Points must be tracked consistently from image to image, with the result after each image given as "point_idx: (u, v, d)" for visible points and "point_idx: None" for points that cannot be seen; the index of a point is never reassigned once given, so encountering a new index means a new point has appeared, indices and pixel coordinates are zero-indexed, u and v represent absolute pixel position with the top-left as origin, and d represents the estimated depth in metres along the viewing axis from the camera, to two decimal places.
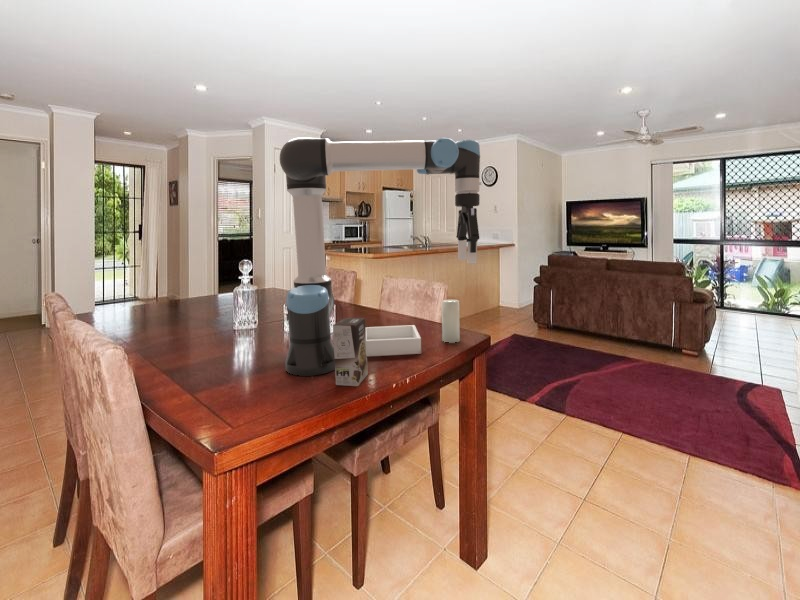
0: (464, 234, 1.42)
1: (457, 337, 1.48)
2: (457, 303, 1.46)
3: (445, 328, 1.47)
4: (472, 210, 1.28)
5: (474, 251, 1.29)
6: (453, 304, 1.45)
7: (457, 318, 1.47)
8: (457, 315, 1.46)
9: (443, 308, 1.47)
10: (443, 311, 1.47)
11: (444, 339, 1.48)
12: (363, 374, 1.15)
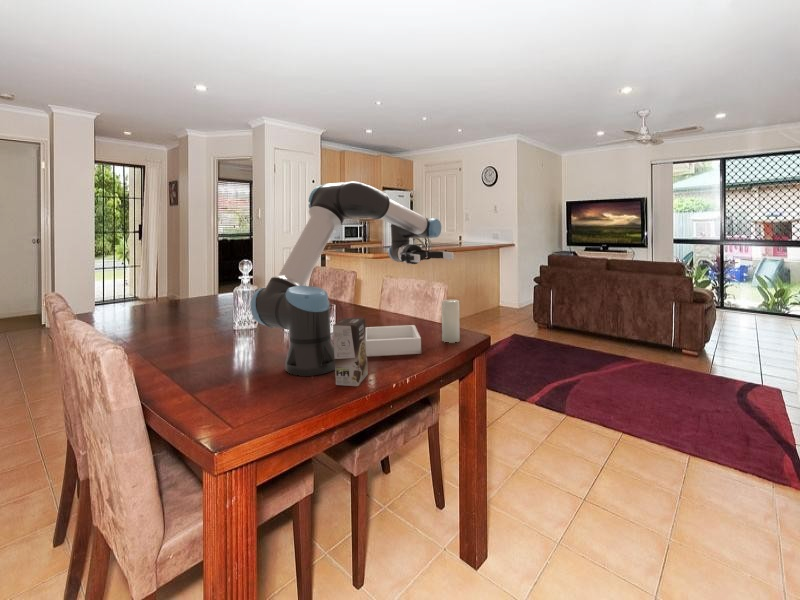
0: None
1: (457, 337, 1.48)
2: (457, 303, 1.46)
3: (445, 328, 1.47)
4: None
5: None
6: (453, 304, 1.45)
7: (457, 318, 1.47)
8: (457, 315, 1.46)
9: (443, 308, 1.47)
10: (443, 311, 1.47)
11: (444, 339, 1.48)
12: (363, 374, 1.15)
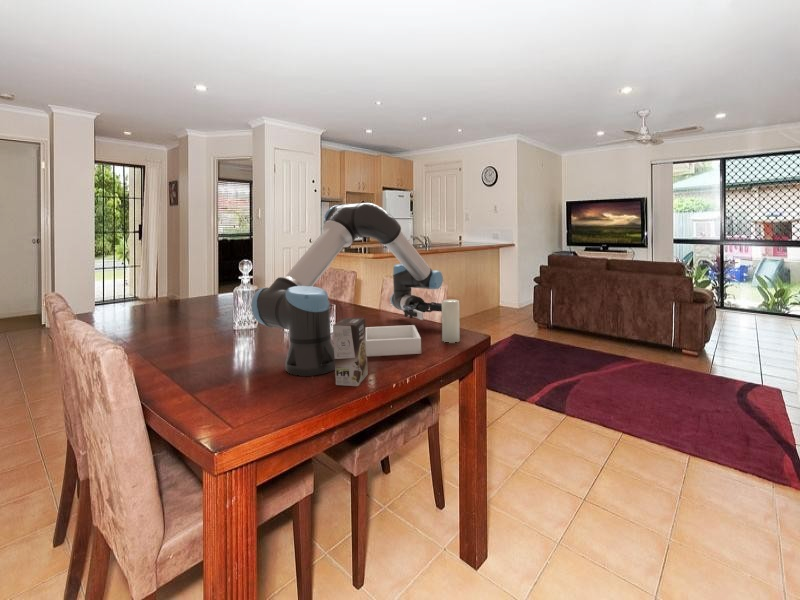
0: None
1: (457, 337, 1.48)
2: (457, 303, 1.46)
3: (445, 328, 1.47)
4: None
5: None
6: (453, 304, 1.45)
7: (457, 318, 1.47)
8: (457, 315, 1.46)
9: (443, 308, 1.47)
10: (443, 311, 1.47)
11: (444, 339, 1.48)
12: (363, 374, 1.15)
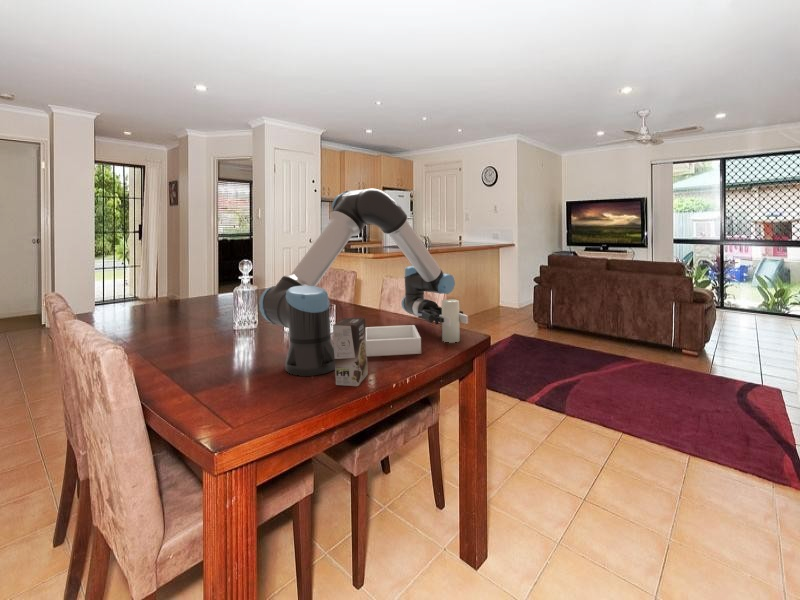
0: None
1: (457, 337, 1.48)
2: (457, 303, 1.46)
3: (445, 328, 1.47)
4: None
5: None
6: (453, 304, 1.45)
7: (457, 318, 1.47)
8: (457, 315, 1.46)
9: (443, 308, 1.47)
10: (443, 311, 1.47)
11: (444, 339, 1.48)
12: (363, 374, 1.15)
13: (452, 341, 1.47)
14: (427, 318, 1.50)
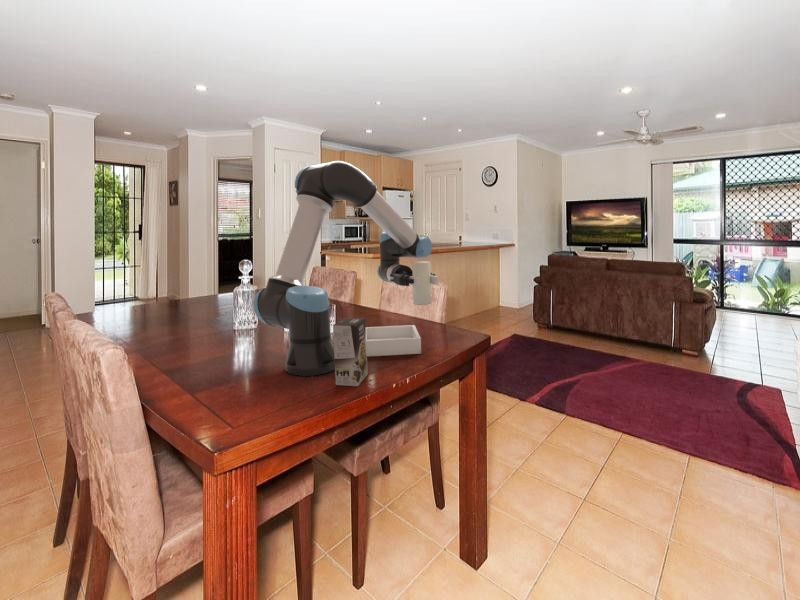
0: None
1: (428, 300, 1.44)
2: (428, 263, 1.42)
3: (415, 289, 1.43)
4: None
5: None
6: (423, 264, 1.41)
7: (428, 279, 1.42)
8: (428, 276, 1.42)
9: (413, 269, 1.42)
10: (413, 272, 1.43)
11: (415, 301, 1.44)
12: (363, 374, 1.15)
13: (423, 303, 1.43)
14: (398, 280, 1.46)
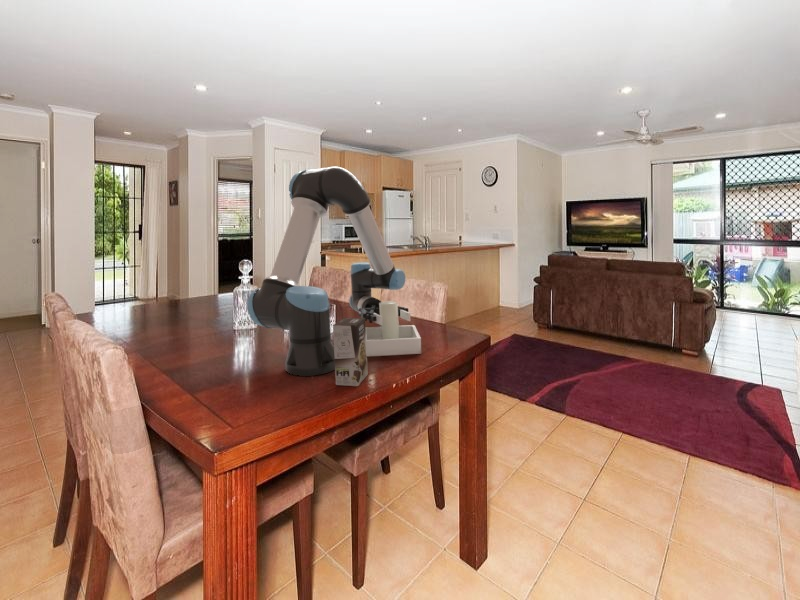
0: None
1: None
2: (394, 305, 1.40)
3: (383, 331, 1.42)
4: None
5: None
6: (390, 306, 1.39)
7: (395, 320, 1.41)
8: (395, 317, 1.41)
9: (380, 310, 1.41)
10: (380, 313, 1.41)
11: None
12: (363, 374, 1.15)
13: None
14: (362, 316, 1.44)
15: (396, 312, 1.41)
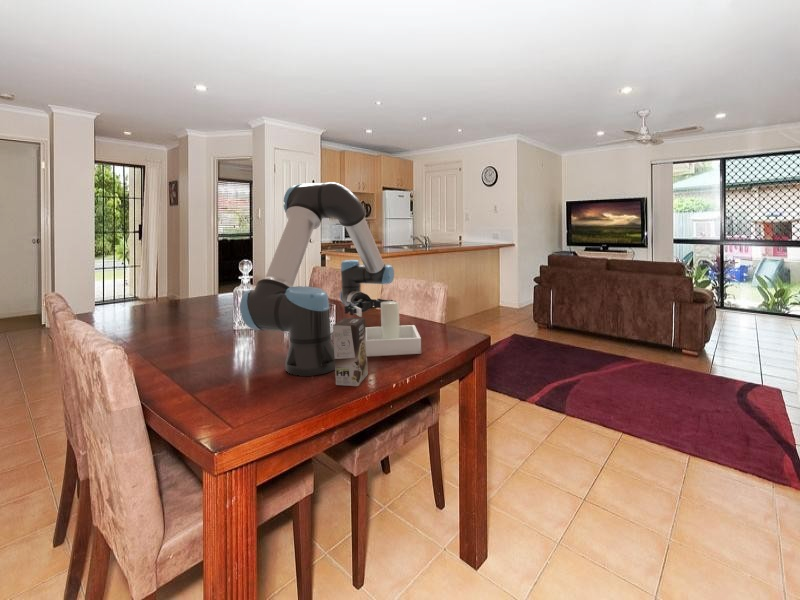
0: None
1: None
2: (396, 305, 1.40)
3: (383, 331, 1.42)
4: None
5: None
6: (391, 306, 1.39)
7: (396, 321, 1.41)
8: (396, 317, 1.41)
9: (381, 310, 1.41)
10: (382, 313, 1.41)
11: None
12: (363, 374, 1.15)
13: None
14: None
15: (397, 312, 1.41)
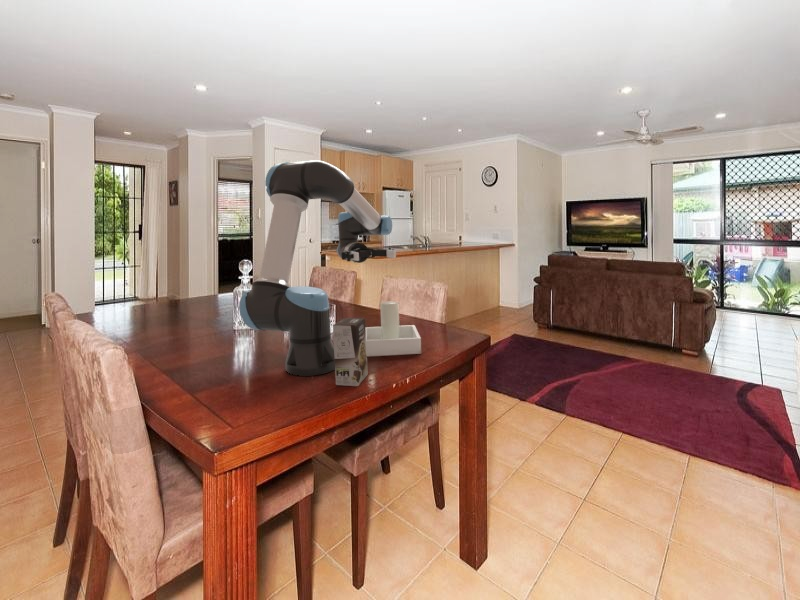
0: None
1: None
2: (395, 305, 1.40)
3: (383, 331, 1.42)
4: None
5: None
6: (391, 306, 1.39)
7: (396, 320, 1.41)
8: (396, 317, 1.41)
9: (381, 310, 1.41)
10: (381, 313, 1.41)
11: None
12: (363, 374, 1.15)
13: None
14: None
15: (397, 312, 1.41)
